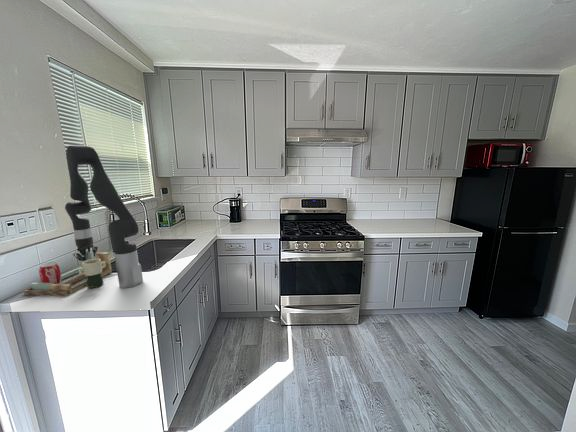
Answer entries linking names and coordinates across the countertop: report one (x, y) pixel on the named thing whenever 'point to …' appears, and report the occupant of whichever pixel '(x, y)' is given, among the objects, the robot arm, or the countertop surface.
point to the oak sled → (83, 276)
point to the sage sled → (46, 285)
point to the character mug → (93, 272)
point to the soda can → (50, 273)
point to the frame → (45, 292)
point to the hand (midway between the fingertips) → (88, 265)
